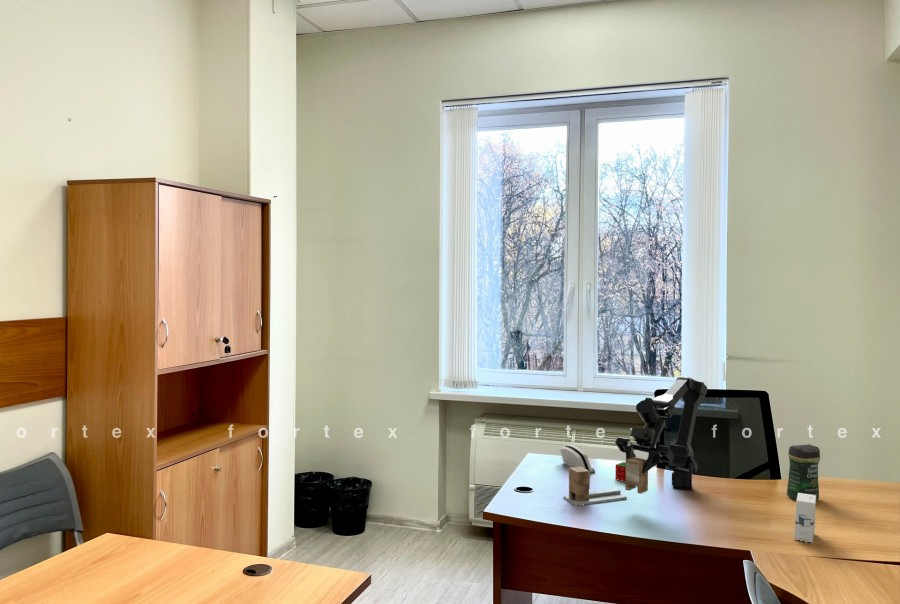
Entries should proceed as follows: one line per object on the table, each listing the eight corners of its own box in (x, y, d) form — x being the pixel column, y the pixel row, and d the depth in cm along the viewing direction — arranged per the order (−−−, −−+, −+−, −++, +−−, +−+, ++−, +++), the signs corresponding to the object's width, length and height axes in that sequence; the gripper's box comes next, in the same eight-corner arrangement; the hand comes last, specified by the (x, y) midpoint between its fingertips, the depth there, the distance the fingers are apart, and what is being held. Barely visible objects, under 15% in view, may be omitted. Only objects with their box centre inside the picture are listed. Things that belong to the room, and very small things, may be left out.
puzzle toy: (615, 479, 240) (615, 464, 240) (623, 476, 244) (623, 461, 244) (628, 483, 236) (628, 467, 236) (636, 479, 240) (636, 464, 240)
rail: (618, 492, 223) (618, 489, 223) (620, 493, 222) (620, 490, 222) (569, 498, 217) (569, 495, 217) (571, 500, 215) (571, 496, 215)
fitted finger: (581, 494, 221) (582, 466, 220) (590, 500, 215) (590, 470, 215) (568, 496, 219) (569, 467, 219) (577, 501, 214) (577, 472, 213)
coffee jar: (801, 503, 214) (802, 449, 214) (782, 496, 222) (783, 443, 221) (824, 501, 217) (825, 446, 217) (804, 493, 225) (805, 441, 224)
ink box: (796, 530, 192) (797, 491, 191) (815, 534, 189) (816, 494, 189) (794, 540, 184) (795, 500, 184) (814, 544, 182) (815, 503, 181)
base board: (613, 491, 226) (613, 489, 226) (626, 499, 219) (626, 496, 219) (563, 498, 220) (563, 495, 220) (575, 505, 212) (575, 503, 212)
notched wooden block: (632, 486, 212) (632, 456, 211) (647, 490, 208) (648, 460, 207) (624, 490, 208) (624, 459, 208) (639, 494, 204) (640, 463, 204)
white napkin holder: (596, 473, 248) (588, 449, 247) (586, 478, 247) (578, 455, 245) (574, 461, 264) (567, 439, 262) (564, 466, 262) (557, 444, 261)
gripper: (618, 413, 217) (600, 451, 209) (670, 421, 203) (652, 463, 196) (629, 431, 222) (612, 470, 215) (681, 441, 209) (664, 482, 202)
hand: (634, 471), depth 207 cm, fingers closed on notched wooden block, 5 cm apart
